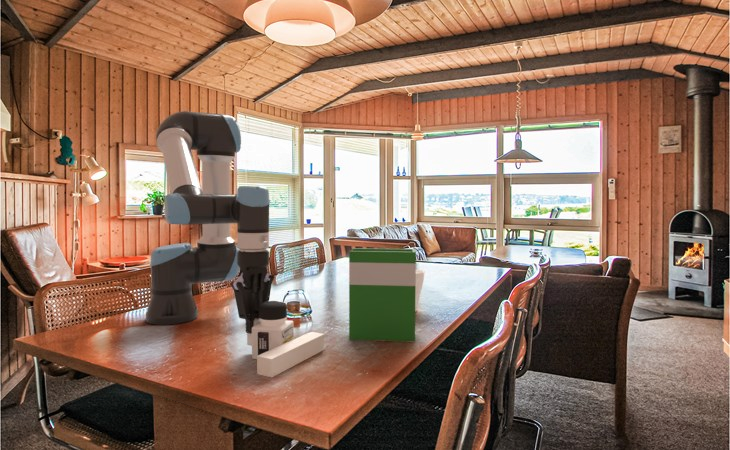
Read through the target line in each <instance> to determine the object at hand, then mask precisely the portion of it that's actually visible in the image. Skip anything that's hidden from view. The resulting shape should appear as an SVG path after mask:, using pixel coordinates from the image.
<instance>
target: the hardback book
mask: <svg viewBox="0 0 730 450" xmlns="http://www.w3.org/2000/svg"><path fill="white" fill-rule="evenodd" d="M351 249H352V250H349V251H348V254H349V255H348V259H349V262H348V264H349V265H348V266H349V267H348V268H349V269H348V270H349V271H348V276H349V278H348V280H349V281H348V283H349V284H348V285H349V287H348V289H349V290H348V295H349V296H348V297H349V299H348V300H349V301H348V303H349V305H348V312H349V313H348V314H349V318H348V319H349V322H348V323H349V324H348V325H349V327H348V337H349V338H348V339H349V340H354V341H376V340H390V341H389V342H405V341H415V342H416V312H415V284H416V268H417V266H416V261H417V260H416V258H417V254H416V253H417V251H416V248H367V247H366V248H361V247H358V248H357V247H355V248H354V247H352V248H351Z"/></svg>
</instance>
